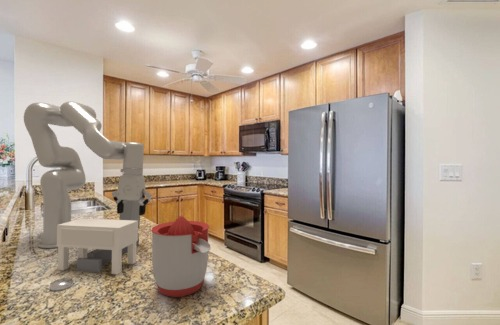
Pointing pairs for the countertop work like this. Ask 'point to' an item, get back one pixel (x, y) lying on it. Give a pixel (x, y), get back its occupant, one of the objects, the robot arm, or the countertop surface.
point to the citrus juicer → (180, 256)
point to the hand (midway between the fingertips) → (131, 213)
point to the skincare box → (131, 211)
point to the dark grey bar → (97, 259)
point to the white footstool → (97, 239)
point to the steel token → (61, 284)
